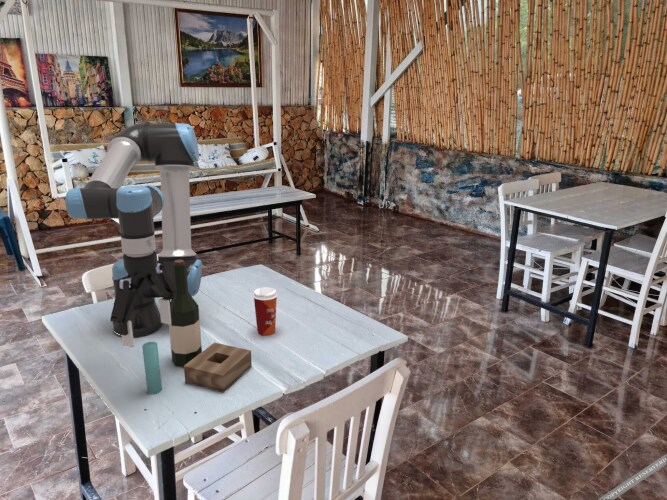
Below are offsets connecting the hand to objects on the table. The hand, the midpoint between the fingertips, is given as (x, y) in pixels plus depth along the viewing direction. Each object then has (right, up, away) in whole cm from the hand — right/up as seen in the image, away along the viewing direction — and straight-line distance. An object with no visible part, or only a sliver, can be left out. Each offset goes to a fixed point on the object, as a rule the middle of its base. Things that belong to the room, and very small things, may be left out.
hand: (148, 334), depth 130 cm
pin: (0, -15, +5) cm, 16 cm away
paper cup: (+25, -5, +37) cm, 45 cm away
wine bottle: (+4, -11, +20) cm, 23 cm away
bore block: (+15, -13, +13) cm, 24 cm away
